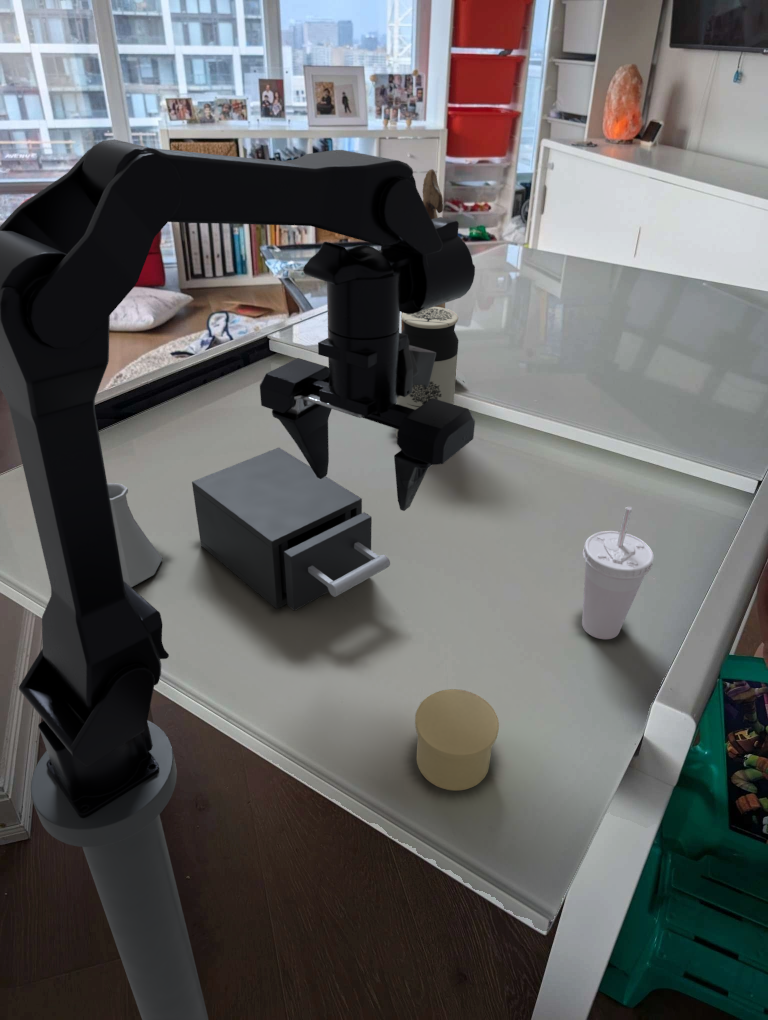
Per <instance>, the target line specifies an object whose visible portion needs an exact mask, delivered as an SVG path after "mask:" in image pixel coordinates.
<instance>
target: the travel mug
mask: <svg viewBox="0 0 768 1020" xmlns="http://www.w3.org/2000/svg"><path fill="white" fill-rule="evenodd" d="M400 319H402V320H403V322H404V329H403V331H402V334H406V335H408V339H409V345H411V346H415V347H418V348H422V349H426V350H430V351H433V352H436V357H435V361H434V366H433V370H432V374H431V379H430V383H429V387H423V385H413V386H412V393H411V394H409V395H407V396H406V397H402V396H399V397H397V403H396V404H398V405H402V406H405V407H408V408H411V409H415V410H416V409H417V408H419V407H420V406H422V405H423V404H425V403H426V402H428V401H429V400H431V399H432V398H434V399H437V400H440V401H444V402H447V403H450V404H454V405H455V394H456V393H455V391H456V378H457V377H456V369H457V365H458V355H459V354H458V352H459V338H458V335H457V333H456V332H455V331H456V329H455V328H456V324H457V323H458V321H459V315H458V314H457V313H456V312H455V311H453V310H451V309H448V308H446V307H445V308H441V307H432V308H429V309H426V310H423V311H420V312H417V313H413V314H406V313H402V312H401V314H400ZM397 432H398V429H395V437H396V438H397Z"/></svg>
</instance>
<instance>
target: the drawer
mask: <svg viewBox="0 0 768 1020" xmlns="http://www.w3.org/2000/svg"><path fill="white" fill-rule="evenodd" d="M372 521H373V518H372V516H371V515H369V514H368V513H366V512H365V511H364V512H363V511H362V513H361V514H359V515H357V516H355V517H353V518H351V511H348V512H346V513H344V514H342V515H340V516H338V517H336V518H333V519H331V520H329V521H327V522H325V523H323V524H321V525H319V526H317V527H315V528H313V529H311V530H309V531H307V532H305V533H302V534H300V535H298V536H296V537H294V538H292V539H290V540H288V541H286V542H284V543H282V544H280V545H279V557H280V571H281V585H282V592H284V593H287V604H286V605H287V606H288V607H289V608H290V609H291V610H293V611H297V610H299V609H300V608H302V607H303V606H306V605H308V604H309V603H311V602H312V601H315V600H316V599H318V598H320V597H322V596H323V595H325V594H327V593H329V594H330V595H331V596H332V597H335V598H336V597H338V596H340V595H342V594H343V593H345V592H347V591H348V590H350V589H352V588H354V587H356V586H357V585H359V584H361V583H363V582H365V581H366V580H368V579H370V578H372V577H373V576H375V575H377V574H379V573H380V572H382V571H384V570H385V569H388V568H389V567H390V566H391V561H390V559H389V557H388V556H387V554H380V555H379V554H378V553H376V552H375V551H373V550H372Z"/></svg>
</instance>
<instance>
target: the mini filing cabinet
mask: <svg viewBox="0 0 768 1020" xmlns="http://www.w3.org/2000/svg"><path fill="white" fill-rule="evenodd" d="M191 484H192V485H191V486H192V492H193V500H194V505H195V507H194V508H195V513H196V520H197V526H198V533H199V534H198V535H199V540H200V546H201V547H202V548H203V549H205V550H206V551H207V552H208V553H209V554H211V555H212V557H214V558H215V559H216V560H218V561H219V562H220V563H221V564H222V565H224V566H225V567H226V568H227V569H228V570H229V571H231V572H232V573H233V574H234V575H235V576H237V577H238V578H239V579H240V580H241V581H243V582H244V583H245V584H246V585H247V586H249V587H250V588H251V589H252V590H253V591H254V592H256V593H257V594H258V595H259V596H260V597H262V598H263V599H264V600H265V601H266V602H268V603H269V604H270V605H271V606H272V607H274V608H275V609H276V610H279V609H280V608H282V607H284V606H286V605H287V593H284V592H282V585H281V571H280V557H279V545H280V544H282V543H284V542H286V541H288V540H290V539H292V538H294V537H296V536H298V535H300V534H302V533H305V532H307V531H309V530H311V529H313V528H315V527H317V526H319V525H321V524H323V523H325V522H327V521H329V520H331V519H333V518H336V517H338V516H340V515H342V514H344V513H346V512H348V511H351V518H353V517H355V516H357V515H359V514H361V513H363V498H362V497H360V496H358V495H357V494H355V493H354V492H352V491H350V490H349V489H348V488H346V487H344V486H343V485H341V484H339V483H337V481H334V480H332V479H331V478H329V477H328V476H327V475H326V476H325V477H324V478H322V479H319V478H317V476H316V475H315V473H314V471H313V470H312V468H311V467H310V465H309V464H307V463H305V462H303V461H302V460H300V459H299V458H297V457H296V456H293V455H292V454H290V453H289V452H287V451H286V450H284V449H283V448H281V447H277V448H274V449H272V450H269V451H265V452H263V453H260V454H259V455H255V456H254V457H251V458H248V459H246V460H243V461H240V462H238V463H236V464H232V465H231V466H227V467H225V468H223V469H221V470H218V471H216V472H215V471H214V472H213V473H211V474H208V475H205V476H203V477H200V478H198V479H195V480H193V481H191Z"/></svg>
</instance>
